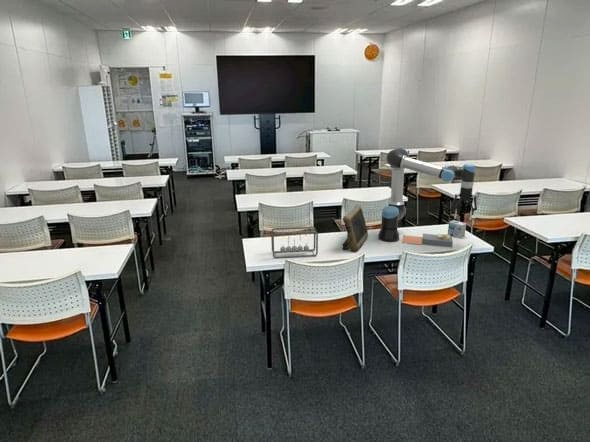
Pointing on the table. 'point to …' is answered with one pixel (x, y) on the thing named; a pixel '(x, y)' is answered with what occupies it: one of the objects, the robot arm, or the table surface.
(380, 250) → the table surface
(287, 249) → the newton's cradle
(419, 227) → the table surface
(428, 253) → the table surface
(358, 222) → the tablet
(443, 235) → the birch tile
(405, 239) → the mat
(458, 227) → the light bulb box
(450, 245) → the deck
